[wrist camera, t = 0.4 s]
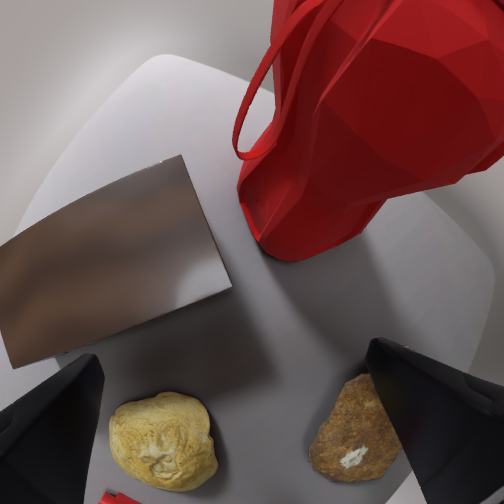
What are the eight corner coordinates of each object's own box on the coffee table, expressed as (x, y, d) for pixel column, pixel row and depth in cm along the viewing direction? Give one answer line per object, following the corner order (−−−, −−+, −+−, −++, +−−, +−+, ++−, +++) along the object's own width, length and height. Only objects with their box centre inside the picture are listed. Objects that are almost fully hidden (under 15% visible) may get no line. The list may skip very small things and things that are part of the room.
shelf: (229, 290, 22) (233, 287, 15) (54, 356, 19) (12, 369, 12) (190, 191, 23) (181, 153, 16) (28, 267, 20) (-15, 256, 13)
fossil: (89, 407, 13) (236, 453, 14) (119, 369, 19) (234, 404, 20) (97, 485, 14) (204, 517, 15) (115, 448, 20) (207, 476, 21)
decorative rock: (342, 328, 23) (286, 465, 20) (362, 333, 19) (294, 488, 16) (431, 350, 23) (378, 469, 20) (455, 355, 19) (394, 486, 16)
